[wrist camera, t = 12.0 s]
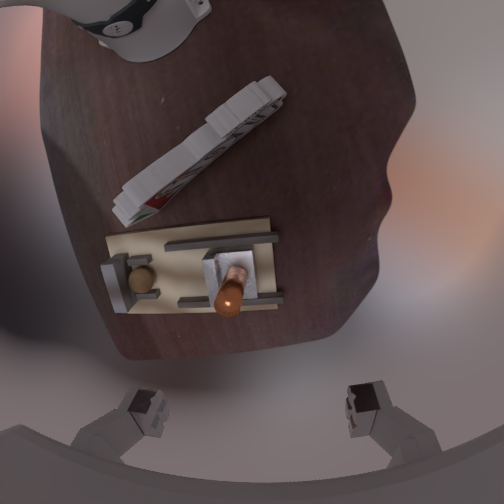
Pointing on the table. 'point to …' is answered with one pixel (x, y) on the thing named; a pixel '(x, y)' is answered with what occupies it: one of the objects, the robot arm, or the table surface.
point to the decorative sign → (197, 151)
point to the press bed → (186, 265)
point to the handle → (230, 278)
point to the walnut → (141, 280)
